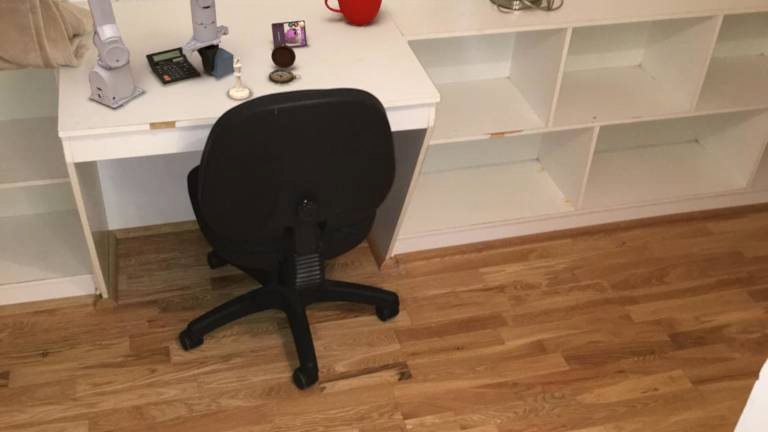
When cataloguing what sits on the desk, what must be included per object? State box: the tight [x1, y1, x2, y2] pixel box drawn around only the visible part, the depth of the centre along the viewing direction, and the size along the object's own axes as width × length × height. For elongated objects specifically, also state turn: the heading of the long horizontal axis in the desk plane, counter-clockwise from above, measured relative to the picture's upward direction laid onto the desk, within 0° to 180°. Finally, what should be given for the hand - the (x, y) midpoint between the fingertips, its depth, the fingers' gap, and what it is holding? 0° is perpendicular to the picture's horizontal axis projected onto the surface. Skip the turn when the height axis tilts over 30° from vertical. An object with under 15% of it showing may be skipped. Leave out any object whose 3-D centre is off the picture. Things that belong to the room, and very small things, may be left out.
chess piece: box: [228, 56, 250, 100], centre depth 188 cm, size 5×5×10 cm
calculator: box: [145, 46, 201, 86], centre depth 197 cm, size 9×12×3 cm
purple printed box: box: [270, 19, 308, 49], centre depth 212 cm, size 7×5×9 cm
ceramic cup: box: [324, 0, 383, 27], centre depth 222 cm, size 13×17×10 cm
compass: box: [268, 44, 302, 85], centre depth 197 cm, size 8×8×7 cm
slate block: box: [208, 46, 235, 79], centre depth 197 cm, size 5×5×5 cm
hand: (208, 70), depth 196 cm, fingers closed, pressing on slate block
